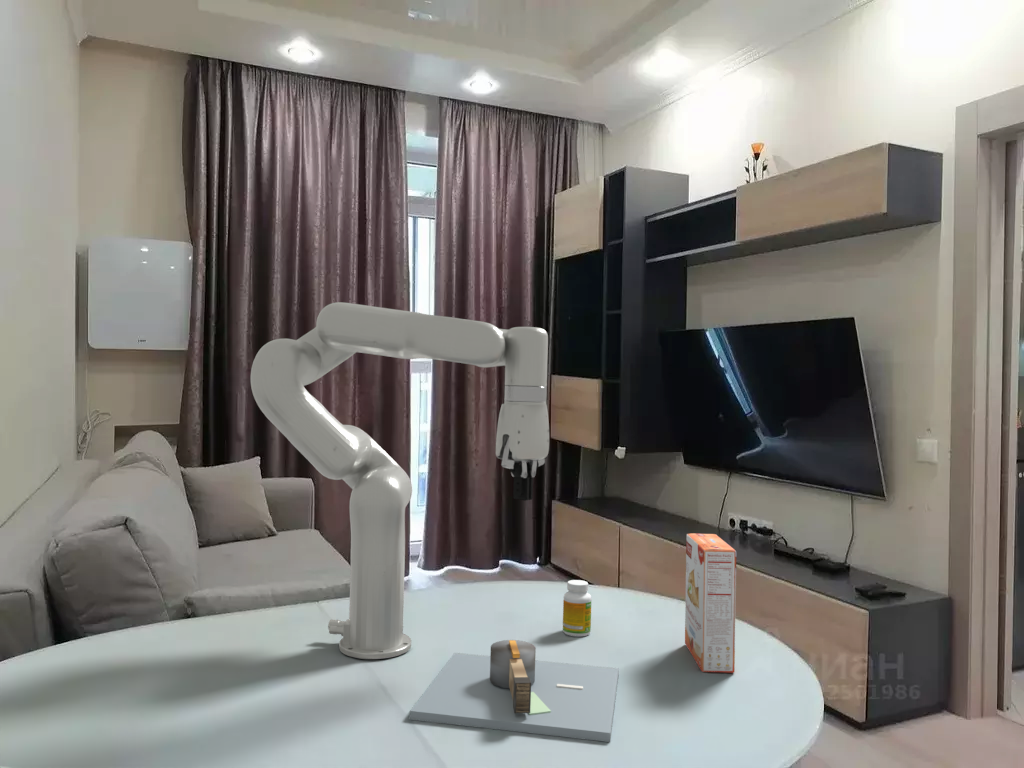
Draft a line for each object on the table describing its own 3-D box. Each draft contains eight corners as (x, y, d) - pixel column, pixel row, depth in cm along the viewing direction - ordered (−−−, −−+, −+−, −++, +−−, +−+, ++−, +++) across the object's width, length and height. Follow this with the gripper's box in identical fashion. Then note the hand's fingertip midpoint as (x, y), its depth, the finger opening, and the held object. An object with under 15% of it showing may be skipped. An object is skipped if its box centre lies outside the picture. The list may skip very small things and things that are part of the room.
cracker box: (682, 644, 141) (685, 532, 141) (715, 645, 141) (717, 533, 141) (699, 673, 127) (702, 548, 127) (735, 674, 126) (738, 549, 127)
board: (409, 719, 106) (409, 709, 106) (454, 659, 130) (454, 651, 130) (610, 742, 101) (610, 731, 101) (618, 675, 125) (618, 666, 125)
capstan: (488, 671, 121) (489, 636, 121) (531, 670, 122) (532, 636, 122) (497, 716, 104) (498, 675, 104) (547, 715, 105) (548, 675, 105)
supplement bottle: (589, 638, 143) (590, 586, 143) (560, 635, 144) (562, 584, 144) (591, 629, 148) (593, 579, 148) (564, 627, 149) (565, 577, 149)
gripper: (535, 396, 143) (532, 493, 143) (481, 395, 132) (478, 500, 132) (567, 397, 138) (564, 497, 138) (514, 396, 127) (511, 506, 127)
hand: (522, 499), depth 135 cm, fingers closed
